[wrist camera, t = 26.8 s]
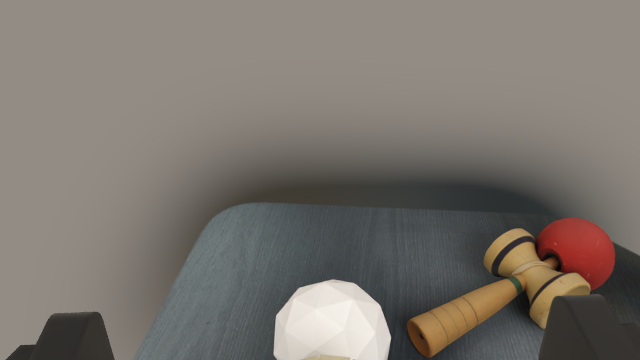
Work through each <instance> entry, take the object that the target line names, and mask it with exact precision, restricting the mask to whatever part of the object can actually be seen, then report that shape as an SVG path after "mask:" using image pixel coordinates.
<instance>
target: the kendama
mask: <svg viewBox="0 0 640 360" xmlns="http://www.w3.org/2000/svg"><path fill="white" fill-rule="evenodd" d="M614 264H615V251H614V246H613V244H612V242H611V240H610V239H609V236H608V235H607V234H606V233H605V232H604V230H602V229H601V228H600V227H599V226H597V225H596V224H594V223H592V222H590V221H587V220H584V219H580V218H565V219H560V220H557V221H555V222H553V223H551V224H549V225H548V226H547V227H545V228H544V229H543V230H542V231H541V233H540V234H539V236H538V237H537V239H536V241H535V240H534V237H533V236H532V235H531V234H529V233H528V232H527V231H525V230H524V229H520V228H519V229H512V230H510V231H508V232H506V233H504V234H503V235H501V236H500V237H499V238H497V239H496V240H495V241H494V242H493V243H492V245H491V246H490V247H489V249H488V250H487V252H486V254H485V257H484V266H485V267H486V268H487V270H488V271H489V272H490V273H491V274H492V275H494V276H498V277H508V278H505V279H503V280H500V281H497V282H494V283H492V284H489V285H486V286H484V287H481V288H479V289H476V290H474V291H472V292H469V293H467V294H465V295H463V296H461V297H459V298H456V299H454V300H452V301H450V302H449V303H446V304H444V305H441V306H439V307H437V308H435V309H432V310H430V311H429V312H425V313H423V314H421V315H418V316H416V317H414V318H411V319H410V320H408V322H407V330H408V334H409V336H410V339H411V341H412V342H413V344H414V346H415V347H416V349H417V350H418V351H419V352H420V353H421V354H422V355H423V356H425V357H426V358H431V357H432V356H434V355H435V354H436V353H438V352H439V351H441V350H442V349H443V348H445V347H446V346H447V345H449V344H451V343H452V342H453V341H455V340H456V339H457V338H459V337H461V336H462V335H464V334H465V333H466V332H468V331H470V330H471V329H473V328H474V327H475V326H477V325H479V324H480V323H482V322H483V321H485V320H486V319H488V318H489V317H491V316H492V315H494V314H495V313H496V312H498V311H499V310H500V309H502V308H503V307H504V306H505V305H507V304H508V303H509V302H510V301H512V300H513V299H514V298H515V297H517V296H518V295H519V294H520V293H521V292H523V291H524V290H525V291H526V293H527V295H528V298H529V301H530V317H531V318H532V320H534V321H535V322H536V323H537V324H538V325H539V326H540V327H541V328H542V329H545V327H546V323H547V319H548V315H549V310H550V306H551V303H552V300H553V298H554V297H556V296H566V295H589V294H590V291H592V290H595V289H596V288H598V287H599V286H601V285H602V284H603V283H604V282H605V281H606V280H607V279H608V278H609V276H610V275H611V273H612V270H613V268H614Z"/></svg>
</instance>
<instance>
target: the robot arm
mask: <svg viewBox="0 0 640 360" xmlns="http://www.w3.org/2000/svg"><path fill="white" fill-rule="evenodd" d="M6 360H115V359H114V356H113V353H112V349H111V346H110V343H109V339H108V335H107V332H106V328H105V325H104V322H103V319H102V316H101V315H100V313H98V312H80V313H55V314H53V315H51V316H50V318H49V319H48V321H47V323H46V325H45V327H44V329H43V331H42V333H41V335H40V337H39V339H38V341H37V343H36V345H20V346H19V347H18V348H17V349H16V350H15V351H14V352H13V353H12V354H11V355H10V356H9V357H8V358H7V359H6ZM539 360H640V327H639V326H638V325H636V324H635V323H627V324H621V323H620V321H619V320H618V318H617V317H616V315H615V313H614V312H613V310H612V308H611V307H610V305H609V304H608V302H607V301H606V299H605V298H604V297H603V296H601V295H599V294H592V295H566V296H556V297H554V298H553V300H552V303H551V306H550V310H549V315H548V319H547V323H546V327H545V331H544V336H543V340H542V344H541V348H540V353H539Z"/></svg>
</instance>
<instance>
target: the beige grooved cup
mask: <svg viewBox="0 0 640 360" xmlns="http://www.w3.org/2000/svg"><path fill="white" fill-rule="evenodd" d="M302 360H350V358H349V357H341V356H332V355H322V354H321V355H320V358H318V356H317V355H314V356H311V357H308V358H305V359H302ZM353 360H355V359H353Z"/></svg>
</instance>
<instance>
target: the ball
mask: <svg viewBox="0 0 640 360" xmlns="http://www.w3.org/2000/svg"><path fill="white" fill-rule="evenodd" d="M390 341H391V336H390V333H389V330H388V326H387V323H386V320H385V318H384V315H383V312H382V310H381V307H380V305H379V304H378V303H377V302H376V301H375V300H373V299H372V298H371V297H370V296H369V295H368V294H367V293H366V292H364V291H363V290H362V289H361V288H360V287H358V286H357V285H356V284H355V283H350V282H344V281H339V280H334V279H333V280H329V281H325V282H321V283H317V284H313V285H308V286H304V287H300V288H298V290H297V291H296V292H295V293H294V295H293V296H292V297H291V298H290V299H289V301H288V302H287V303H286V304H285V306H284V307H283V308H282V309H281V310H280V312H279V313H278V314H277V315H276V323H275V339H274V356H275V358H276V359H277V360H302V359H305V358H308V357H311V356H314V355H317V356H318V358H320V355H321V354H322V355H332V356H341V357H349V358H350V360H353V359H355V360H387V358H388V352H389V347H390Z"/></svg>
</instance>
